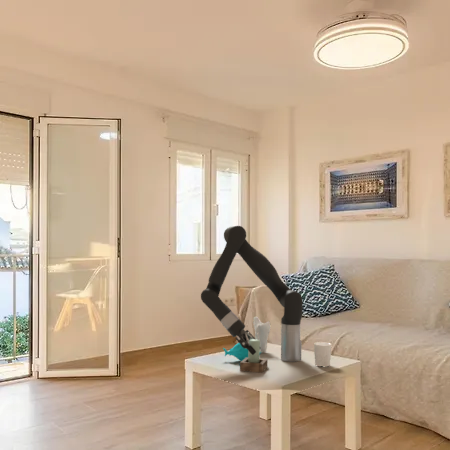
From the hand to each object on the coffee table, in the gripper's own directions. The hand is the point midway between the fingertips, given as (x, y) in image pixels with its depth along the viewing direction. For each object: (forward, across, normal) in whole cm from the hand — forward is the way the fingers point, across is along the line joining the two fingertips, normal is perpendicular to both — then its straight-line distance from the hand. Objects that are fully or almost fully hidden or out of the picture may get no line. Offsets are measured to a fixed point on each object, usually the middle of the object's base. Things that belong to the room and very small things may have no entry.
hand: (257, 351), depth 213 cm
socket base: (+4, 0, +6) cm, 8 cm away
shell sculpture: (+1, +34, +10) cm, 36 cm away
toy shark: (-2, +11, +13) cm, 17 cm away
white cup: (+25, +18, -13) cm, 33 cm away
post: (+4, 0, +6) cm, 7 cm away
